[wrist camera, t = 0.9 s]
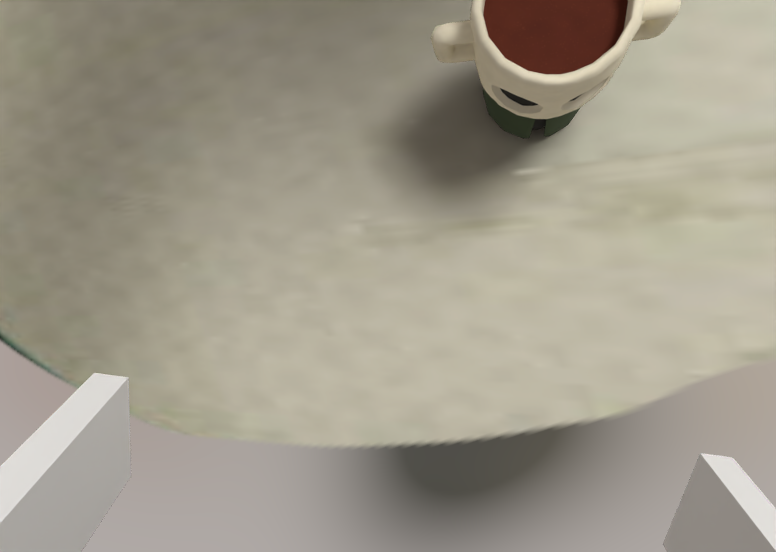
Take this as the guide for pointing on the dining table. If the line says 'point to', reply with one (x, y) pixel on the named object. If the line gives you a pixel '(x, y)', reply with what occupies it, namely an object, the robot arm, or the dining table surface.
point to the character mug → (547, 53)
